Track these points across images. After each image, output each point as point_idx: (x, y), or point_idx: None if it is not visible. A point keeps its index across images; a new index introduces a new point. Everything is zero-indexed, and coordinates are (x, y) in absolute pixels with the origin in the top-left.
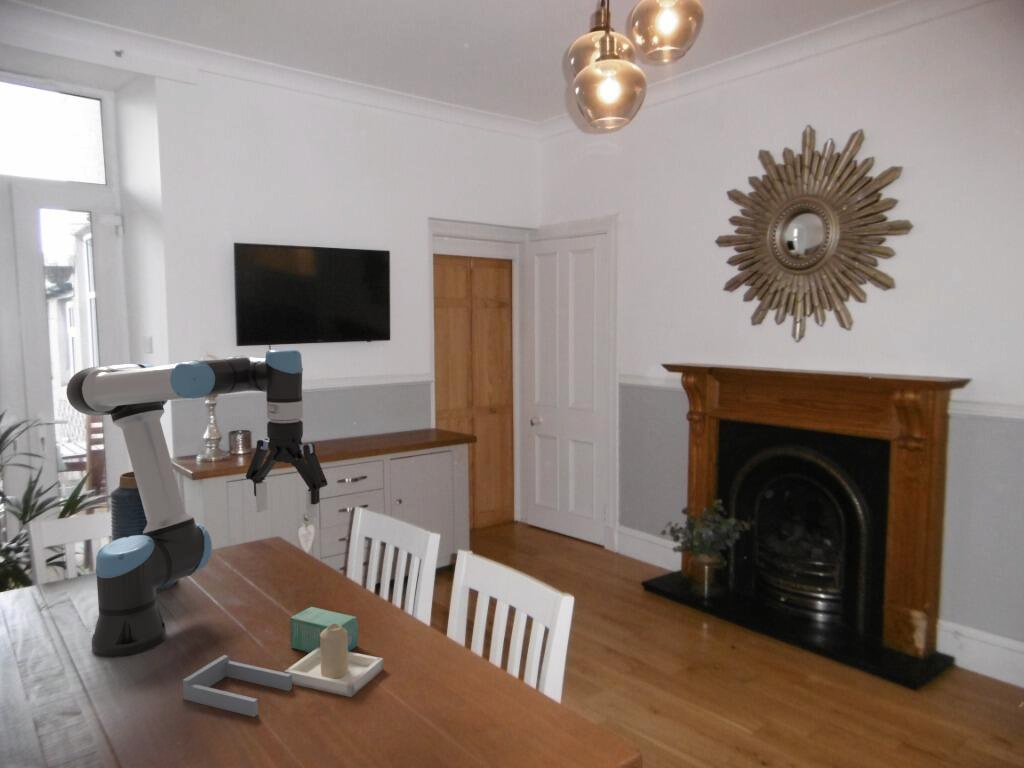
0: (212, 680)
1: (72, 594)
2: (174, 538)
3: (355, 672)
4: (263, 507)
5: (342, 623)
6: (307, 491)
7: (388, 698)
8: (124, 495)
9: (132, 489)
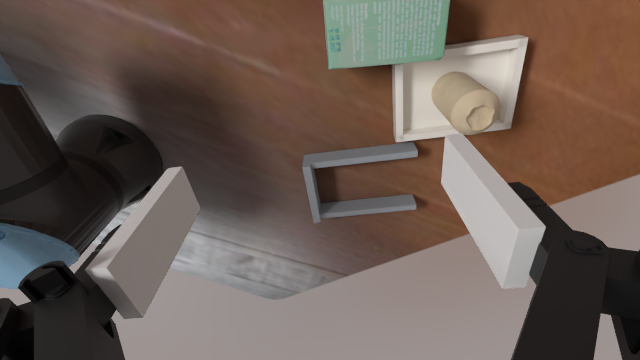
0: (315, 181)
1: None
2: None
3: (482, 74)
4: (185, 196)
5: (441, 35)
6: (509, 282)
7: (556, 100)
8: None
9: None
